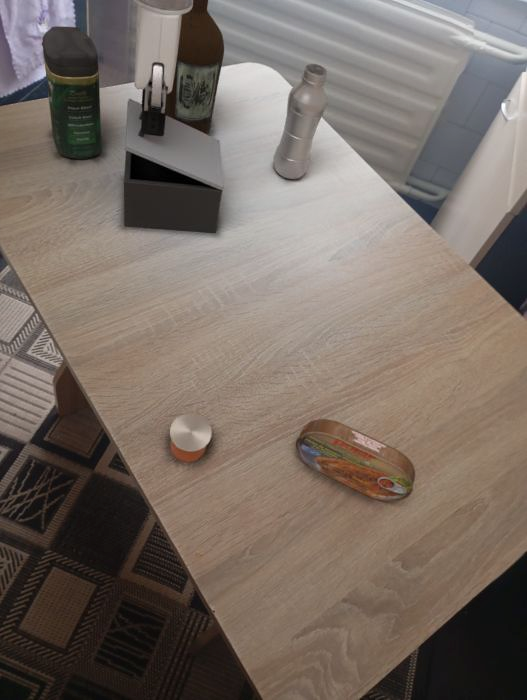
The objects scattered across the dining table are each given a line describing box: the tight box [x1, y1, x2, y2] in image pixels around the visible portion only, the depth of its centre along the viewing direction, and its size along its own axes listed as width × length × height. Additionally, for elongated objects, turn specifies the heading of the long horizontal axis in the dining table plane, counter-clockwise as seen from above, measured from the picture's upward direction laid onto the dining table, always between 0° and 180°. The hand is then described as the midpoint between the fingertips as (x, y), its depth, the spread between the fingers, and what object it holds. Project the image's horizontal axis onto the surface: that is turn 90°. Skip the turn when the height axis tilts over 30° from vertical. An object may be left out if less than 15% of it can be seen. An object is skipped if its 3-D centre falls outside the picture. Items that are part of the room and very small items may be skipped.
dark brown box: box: [123, 150, 223, 234], centre depth 91 cm, size 15×12×9 cm
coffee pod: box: [169, 412, 213, 463], centre depth 69 cm, size 5×5×4 cm
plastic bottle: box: [273, 63, 328, 180], centre depth 98 cm, size 6×7×20 cm
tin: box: [294, 418, 416, 502], centre depth 69 cm, size 15×3×8 cm, turn 66°
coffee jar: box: [41, 25, 102, 160], centre depth 92 cm, size 10×8×19 cm
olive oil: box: [162, 0, 225, 135], centre depth 99 cm, size 11×11×25 cm
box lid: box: [124, 92, 225, 191], centre depth 84 cm, size 15×12×6 cm
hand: (152, 120), depth 82 cm, fingers closed on box lid, 5 cm apart
